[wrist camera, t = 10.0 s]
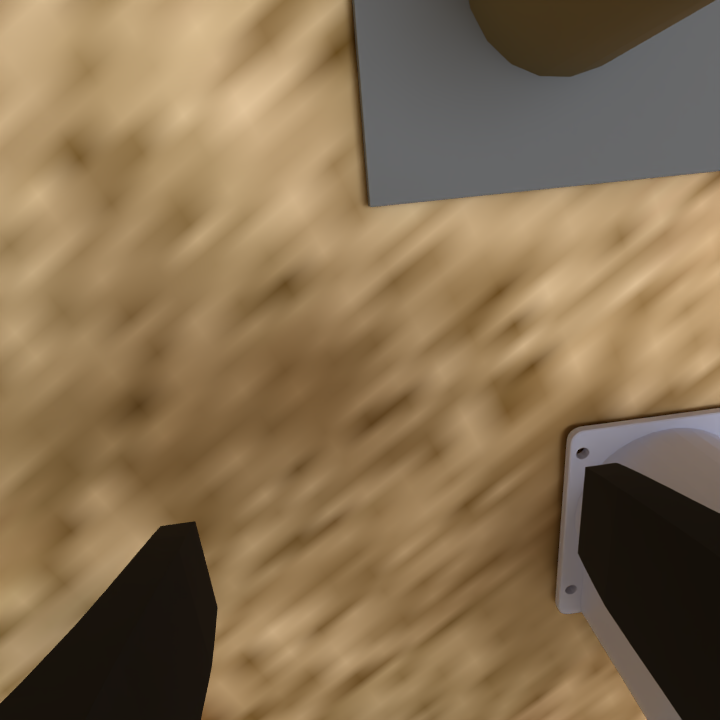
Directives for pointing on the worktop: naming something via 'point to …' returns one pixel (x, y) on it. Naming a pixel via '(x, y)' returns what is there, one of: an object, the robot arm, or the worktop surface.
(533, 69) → the olive brown rounded piece
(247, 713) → the worktop surface
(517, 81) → the rubber mat
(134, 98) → the worktop surface
